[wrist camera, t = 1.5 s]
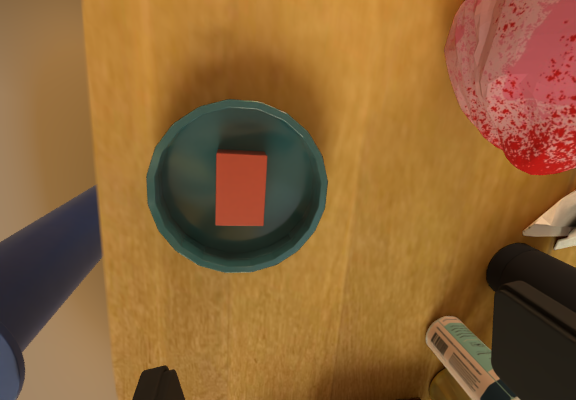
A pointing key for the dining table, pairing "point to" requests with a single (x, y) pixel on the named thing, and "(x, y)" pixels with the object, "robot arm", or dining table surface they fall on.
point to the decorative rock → (518, 78)
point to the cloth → (557, 222)
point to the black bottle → (534, 273)
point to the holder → (411, 399)
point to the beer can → (466, 359)
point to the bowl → (202, 185)
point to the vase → (446, 388)
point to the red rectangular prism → (240, 187)
